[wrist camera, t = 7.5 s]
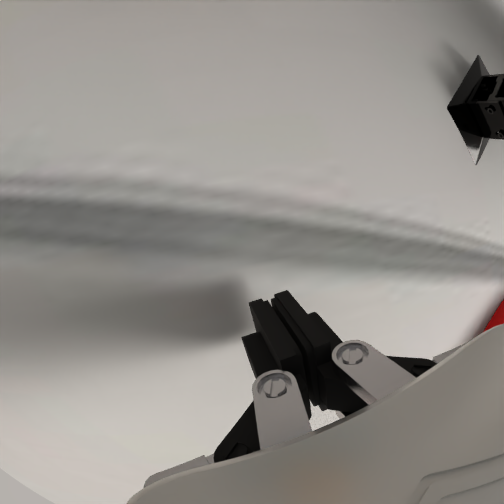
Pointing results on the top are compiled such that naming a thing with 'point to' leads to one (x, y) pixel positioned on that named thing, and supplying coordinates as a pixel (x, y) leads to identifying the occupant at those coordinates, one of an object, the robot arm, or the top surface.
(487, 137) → the black boxy piece
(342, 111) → the top surface
